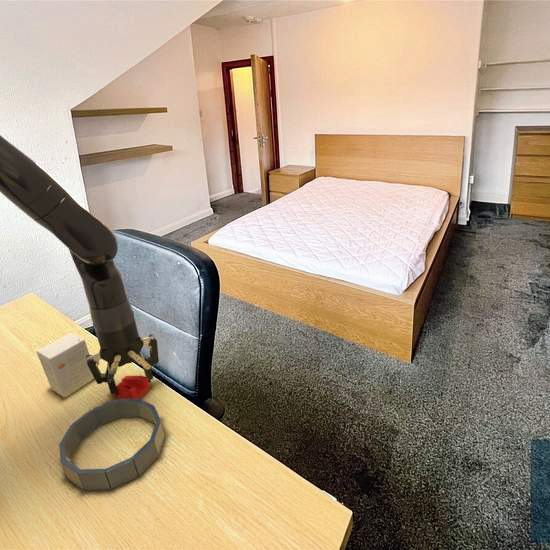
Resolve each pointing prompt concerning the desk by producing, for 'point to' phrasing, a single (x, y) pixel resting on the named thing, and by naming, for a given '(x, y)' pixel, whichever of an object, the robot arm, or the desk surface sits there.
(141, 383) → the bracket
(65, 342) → the small box
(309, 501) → the desk surface
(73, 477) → the grey segmented ring
